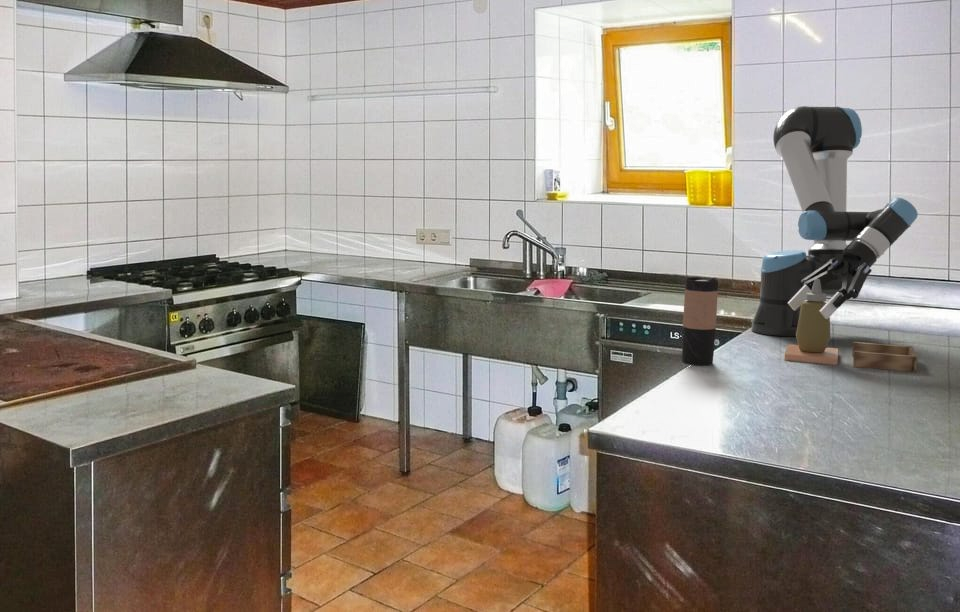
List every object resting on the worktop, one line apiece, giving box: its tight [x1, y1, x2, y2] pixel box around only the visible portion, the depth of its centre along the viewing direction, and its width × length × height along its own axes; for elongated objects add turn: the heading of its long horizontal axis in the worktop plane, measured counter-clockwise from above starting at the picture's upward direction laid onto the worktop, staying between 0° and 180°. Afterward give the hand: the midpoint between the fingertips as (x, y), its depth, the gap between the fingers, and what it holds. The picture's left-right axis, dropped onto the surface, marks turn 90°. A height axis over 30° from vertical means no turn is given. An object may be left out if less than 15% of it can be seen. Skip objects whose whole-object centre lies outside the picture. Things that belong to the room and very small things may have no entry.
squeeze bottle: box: [795, 279, 831, 353], centre depth 222 cm, size 8×8×18 cm
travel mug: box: [681, 277, 719, 367], centre depth 212 cm, size 8×8×20 cm
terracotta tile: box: [784, 344, 839, 366], centre depth 223 cm, size 12×14×2 cm
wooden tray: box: [852, 341, 918, 373], centre depth 217 cm, size 14×14×4 cm
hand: (806, 310), depth 221 cm, fingers open, 13 cm apart
